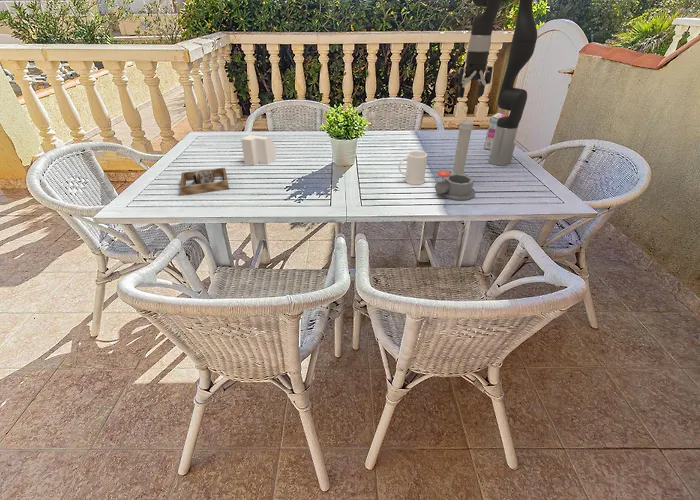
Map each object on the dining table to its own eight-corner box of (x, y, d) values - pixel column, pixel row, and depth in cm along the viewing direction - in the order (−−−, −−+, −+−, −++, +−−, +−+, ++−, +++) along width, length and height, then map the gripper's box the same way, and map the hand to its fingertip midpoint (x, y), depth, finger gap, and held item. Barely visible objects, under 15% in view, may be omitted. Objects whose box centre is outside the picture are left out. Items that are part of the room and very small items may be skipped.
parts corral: (226, 174, 165) (225, 167, 163) (229, 189, 152) (227, 181, 150) (183, 180, 160) (181, 172, 158) (182, 195, 147) (180, 187, 145)
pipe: (463, 181, 159) (477, 108, 142) (448, 180, 160) (460, 108, 143) (463, 176, 163) (476, 105, 146) (448, 175, 164) (459, 104, 147)
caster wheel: (205, 183, 163) (222, 184, 159) (185, 188, 153) (203, 188, 149) (202, 168, 161) (220, 168, 157) (181, 172, 151) (200, 172, 147)
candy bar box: (492, 150, 191) (500, 118, 182) (483, 149, 193) (490, 116, 184) (499, 145, 199) (506, 113, 189) (490, 143, 201) (497, 112, 192)
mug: (398, 185, 156) (400, 157, 149) (396, 177, 163) (398, 150, 156) (426, 185, 156) (429, 157, 149) (423, 177, 163) (426, 150, 156)
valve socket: (461, 183, 156) (465, 161, 151) (481, 197, 145) (487, 174, 140) (426, 189, 152) (429, 167, 146) (444, 204, 141) (448, 180, 135)
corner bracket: (245, 163, 176) (240, 138, 169) (258, 156, 185) (255, 132, 178) (264, 167, 173) (260, 141, 166) (276, 159, 181) (274, 134, 175)
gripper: (488, 47, 138) (480, 93, 147) (455, 49, 134) (449, 96, 144) (501, 49, 132) (491, 97, 142) (467, 51, 129) (459, 100, 138)
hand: (470, 96), depth 143 cm, fingers open, 8 cm apart
